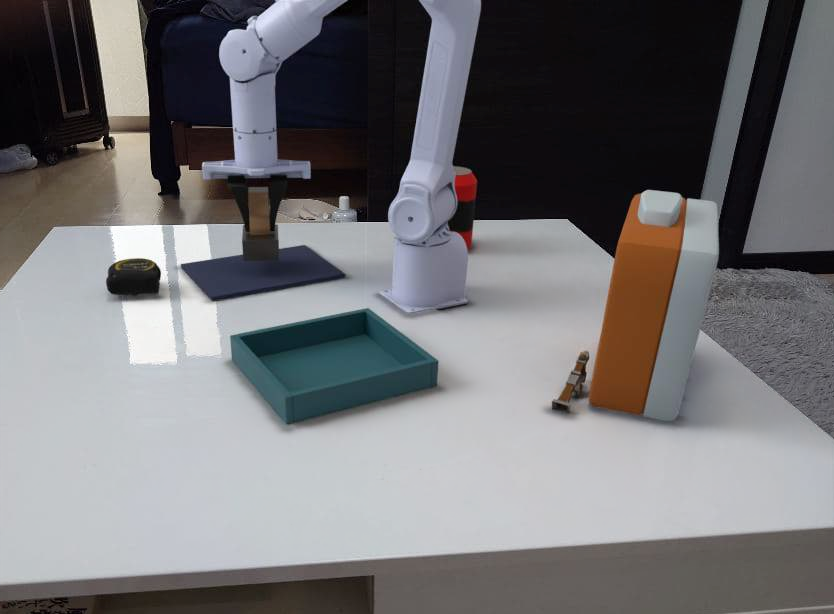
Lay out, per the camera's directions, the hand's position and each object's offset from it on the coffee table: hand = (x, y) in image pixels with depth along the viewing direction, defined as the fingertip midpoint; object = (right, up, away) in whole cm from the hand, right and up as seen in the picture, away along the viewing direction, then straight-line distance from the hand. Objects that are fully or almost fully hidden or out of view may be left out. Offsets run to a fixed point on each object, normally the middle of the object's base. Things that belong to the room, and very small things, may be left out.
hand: (259, 229), depth 109 cm
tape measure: (-16, -10, -4) cm, 19 cm away
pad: (0, -6, +3) cm, 6 cm away
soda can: (+28, 0, +15) cm, 32 cm away
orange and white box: (+45, -22, -23) cm, 55 cm away
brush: (0, -3, +2) cm, 3 cm away
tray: (+11, -22, -24) cm, 34 cm away
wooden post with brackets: (+36, -25, -27) cm, 52 cm away
